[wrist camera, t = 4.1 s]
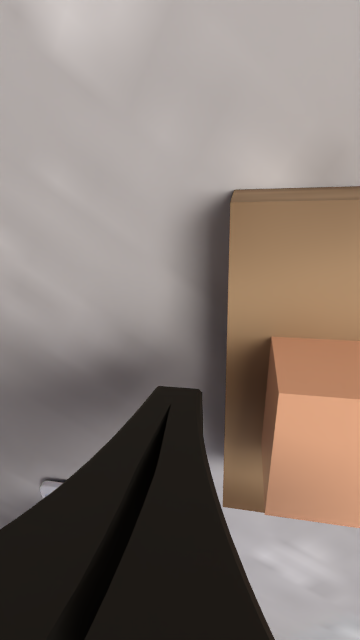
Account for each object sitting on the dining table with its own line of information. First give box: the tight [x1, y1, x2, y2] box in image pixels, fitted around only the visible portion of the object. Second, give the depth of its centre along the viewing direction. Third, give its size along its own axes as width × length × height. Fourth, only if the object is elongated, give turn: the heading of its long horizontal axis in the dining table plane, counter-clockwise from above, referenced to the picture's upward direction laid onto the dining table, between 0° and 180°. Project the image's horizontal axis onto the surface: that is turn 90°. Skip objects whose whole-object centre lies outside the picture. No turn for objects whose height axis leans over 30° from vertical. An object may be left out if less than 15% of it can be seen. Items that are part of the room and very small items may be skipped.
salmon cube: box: [261, 337, 360, 528], centre depth 9 cm, size 4×4×3 cm
